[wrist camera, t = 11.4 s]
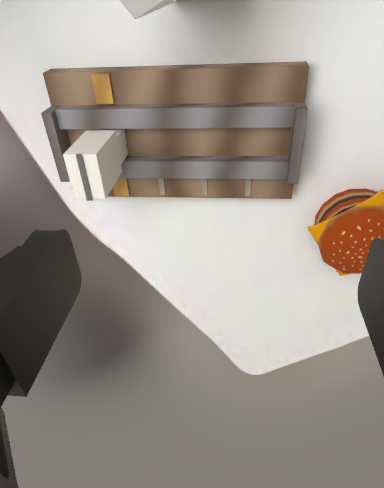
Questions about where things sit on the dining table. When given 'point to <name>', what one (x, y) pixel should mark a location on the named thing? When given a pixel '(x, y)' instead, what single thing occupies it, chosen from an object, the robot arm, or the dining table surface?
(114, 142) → the fader tab
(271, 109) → the fader console
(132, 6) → the milk carton
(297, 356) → the dining table surface
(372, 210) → the hamburger
